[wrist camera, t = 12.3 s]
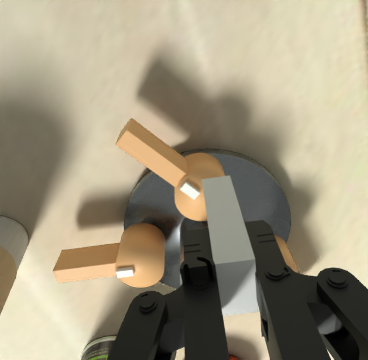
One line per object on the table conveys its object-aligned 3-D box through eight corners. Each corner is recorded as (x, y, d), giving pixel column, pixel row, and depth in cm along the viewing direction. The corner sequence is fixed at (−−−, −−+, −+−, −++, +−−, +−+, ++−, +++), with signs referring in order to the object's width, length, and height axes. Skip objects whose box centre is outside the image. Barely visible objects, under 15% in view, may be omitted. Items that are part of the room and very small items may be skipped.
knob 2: (233, 172, 34) (241, 197, 30) (201, 204, 35) (204, 232, 31) (143, 101, 30) (137, 118, 26) (112, 141, 32) (102, 162, 28)
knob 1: (161, 220, 36) (159, 249, 32) (168, 255, 38) (167, 287, 34) (59, 233, 37) (44, 264, 33) (72, 267, 39) (60, 300, 35)
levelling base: (91, 213, 38) (61, 288, 28) (225, 113, 33) (246, 162, 23) (191, 304, 45) (196, 390, 35) (315, 232, 40) (361, 309, 30)
